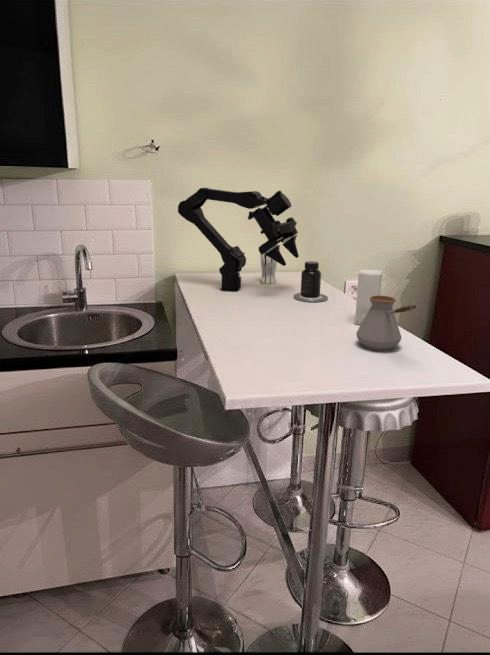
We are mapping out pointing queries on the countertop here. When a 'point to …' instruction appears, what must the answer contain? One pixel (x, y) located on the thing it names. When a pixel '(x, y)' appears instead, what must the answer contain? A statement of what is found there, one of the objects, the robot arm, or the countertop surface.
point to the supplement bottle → (310, 280)
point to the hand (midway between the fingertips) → (291, 261)
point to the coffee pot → (381, 324)
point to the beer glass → (268, 269)
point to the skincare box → (367, 292)
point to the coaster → (318, 299)
